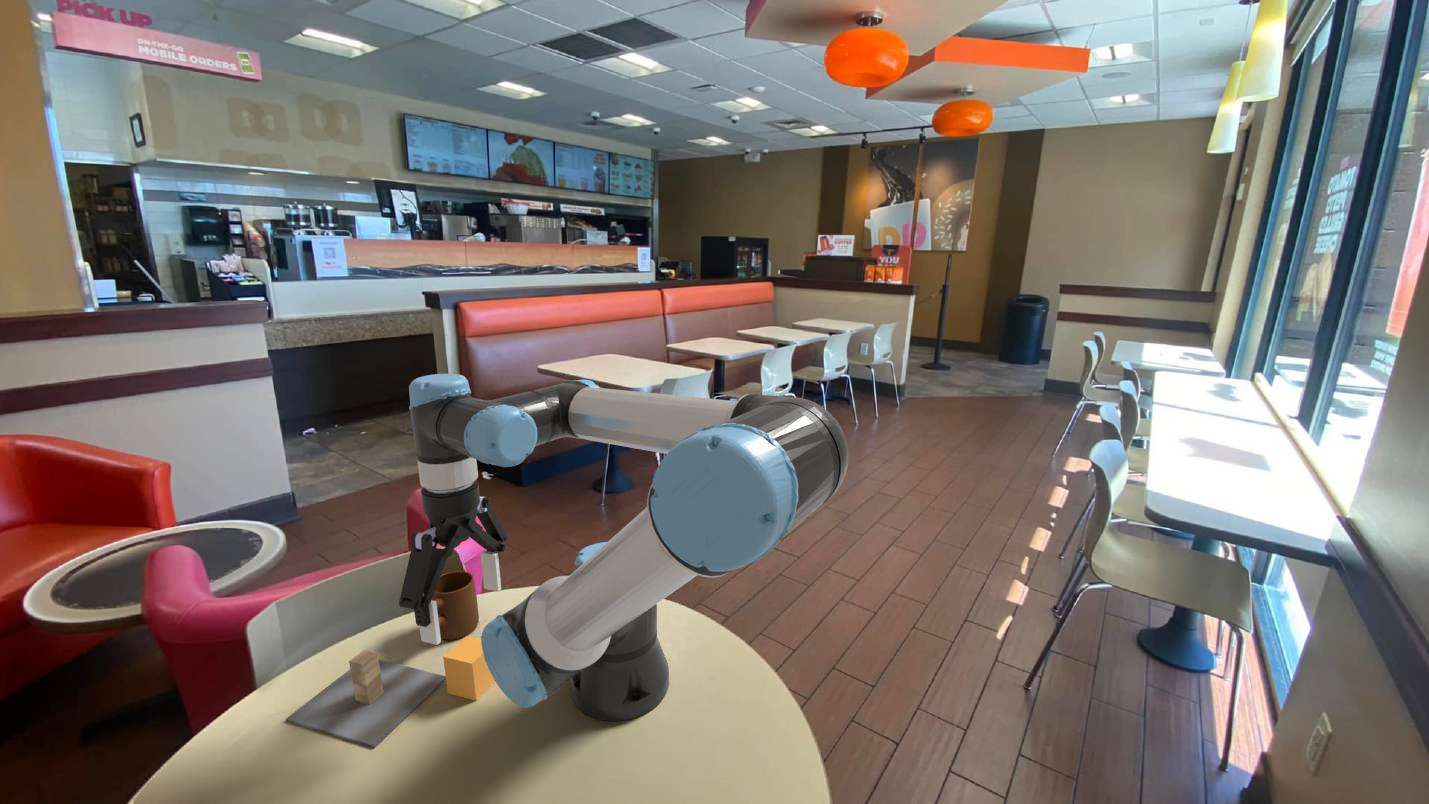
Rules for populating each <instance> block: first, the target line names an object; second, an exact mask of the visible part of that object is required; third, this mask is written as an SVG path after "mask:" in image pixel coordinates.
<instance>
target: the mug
mask: <svg viewBox="0 0 1429 804" xmlns="http://www.w3.org/2000/svg"><path fill="white" fill-rule="evenodd" d="M432 600H433V601H436V604H437V612H438V620H439V628H440V636H441V640H448V641H449V640H451V641H452V640H458V639H463V638H465V637H466V636H469V635H470V634H471V633H473V632H474V631H475V630H476V629H477V627H478V625H479V622H480V621H479V620H480V616H479V615H480V614H479V606H478V605H479V604H478V595H477V588H476V581H475V577H474V575H473V574H472V573H471V572H468V571H464V570H455V571H449V572H445V573H441V576H440V579H439V581H438V584H437V587H436V589H435V592H434V595H433V597H432Z"/></svg>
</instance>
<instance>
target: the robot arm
mask: <svg viewBox="0 0 1429 804" xmlns="http://www.w3.org/2000/svg"><path fill="white" fill-rule="evenodd" d="M408 392H409V393H408V394H409V403H410V405H409V406H408V409H409V411H410V418H411V423H412V424H411V425H412V430H413V431H412V433H413V440H414V446H415V452H416V453H415V454H416V460H417V469H418V477H419V484H420V486H421V487H422V488H421V490H420V493H421V494H420V496H421V503H422V510H423V513H424V514H425V516H426V517H427V518H428V520H429V523H428V528H427V529H426V530H425V531H423V532H419V531H414V532H412V533H411V535H410V553H409V558H408V562H407V567H406V571H405V575H404V580H403V584H402V589H401V594H400V597H399V601H398V605H399V607H401V608H405V609H410V610H413V611H414V612H413V613H414V618H415V624H416V625H417V626H419V633H420V640H421V642H423V643H428V644H431V645H436V646H438V645H439V644H440V643H441V642H442V639H441V636H440V628H439V620H438V612H437V604H436V601H433V600H432V597H433V595H434V592H435V589H436V587H437V584H438V581H439V579H440V576H441V575H442V574H443V573H442V572H443V571H444V569H445V565H446V564H447V563H446V562H447V560H448V558H450V557H451V556H452V555H453V552H454V550H455V549H456V548H457V547H459V545H461V543H462V542H465V541H467V540H468V539H471V540H473V541H474V542H475V543H476V544H478V545H479V546H480V547H482V549H484V550H483V551H481V552H480V559H481V560H480V561H481V569H482V571H481V572H482V580H483V581H482V582H483V589H484V590H489V591H492V592H493V591H494V592H497V593H499V592H500V591H501V590H502V582H501V581H502V579H501V572H500V571H501V570H500V567H501V557H500V556H501V555H500V553H504V552H505V550H506V544H503V543H506V542H508V539H509V536H508V534H507V532H506V531H505V529H504V527H503V525H502V523H501V522H500V520H499V518H498V517H497V514H496V513H495V511H494V510H493V505H492V501H491V498H490V497H486V496H480V483H479V481H478V480H477V479H478V477H479V471H478V463H477V462H478V461H479V462H480V463H484V464H486V465H489V464H491V465H492V466H498V467H502V468H508V467H509V468H510V467H515V466H517V465H520V464H522V463H523V462H524V461H525V459H526V458H527V457H528V456H530V455H531V454H532V453H533V451H534V450H535V447H537V446H541V445H543V444H546V443H548V442H553V441H554V440H558V439H562V438H573V439H577V440H578V439H579V440H585V441H586V440H587V441H593V442H598V443H603V444H609V445H615V446H620V447H627V448H631V449H637V450H644V451H650V452H655V453H659V454H665V456H663V458H662V459H661V461H660V462H659V464H658V467H657V468H656V470H655V472H654V475H653V478H652V483H651V485H650V488H649V491H648V494H647V499H646V507H645V508H644V509H643V510H642V511H641V512H639V514H637V515H635V517H634V518H633V519H632V520H631V521H629V522H628V523H627V524H626V525H625V526H624V527H623V528H622V529H620V530H619V531H618V532H617V533H616V534H615V535H614V536H613V537H611V538H610V539H609V540H608V541H605V542H604V541H603V542H596V543H594V544H590V545H588V546H585V547H583V548H582V549H580V550H579V551H578V553H577V555H576V557H575V562H574V567H575V570H574V571H573V572H572V573H571V574H570V575H559V576H556V577H553V578H549V579H548V580H546V581H544V582H543V583H541V585H539V586H538V587H537V588H536V589H535V590H534V591H533V592H532V593H530V594H529V595H528V596H527V597H526V598H525V599H524V600H523V601H521V602H520V603H519V604H517V605H516V606H514V607H513V608H512V609H509V610H507V611H506V612H505V613H503V614H497V615H496V617H495V618H494V619H493V620H491V621H490V622H488V623H487V624H486V625H485V626H484V628H483V629H482V632H481V638H480V639H481V644H482V650H483V654H484V658H485V661H486V663H487V666H488V668H489V670H490V672H491V674H492V676H493V678H494V680H495V681H494V682H495V683H496V684H497V686H498V687H499V689H500V691H501V692H502V693H503V694H504V695H505V696H506V697H507V698H508V699H509V701H511V702H512V703H514V704H515V705H517V706H519V707H521V708H524V709H525V708H526V709H527V708H532V707H534V706H536V705H537V704H539V703H540V702H541V701H546V700H547V699H548V697H549V696H550V695H551V694H552V693H554V692H555V691H556V690H558V689H559V688H561V687H562V686H563V685H564V684H566V683H567V682H568V681H571V683H570V684H571V698H572V699H573V702H574V703H575V706H577V708H578V709H579V710H580V711H581V712H582V713H584V714H585V715H587V716H590V717H591V718H594V719H598V720H601V721H609V722H618V721H627V720H631V719H635V718H638V717H640V716H643V715H645V714H646V713H648V712H650V711H651V710H652V709H654V708H656V707H657V706H658V705H659V704H660V703H661V702H662V701H663V699H664V698H665V696H666V694H667V693H668V690H669V685H670V668H669V667H670V666H669V663H668V661H667V658H666V656H665V653H664V650H663V648H662V646H661V643H660V640H659V638H658V610H657V609H658V604H659V603H660V602H661V601H664V599H665V598H668V596H670V595H671V594H673V593H674V592H675V591H677V590H678V589H680V588H681V587H683V586H684V585H686V584H687V583H688V582H690V581H691V580H693V579H695V578H696V577H697V576H698V577H699V576H700V577H704V578H720V577H723V576H725V575H727V574H729V573H731V572H732V571H735V570H737V569H740V568H742V567H745V566H747V565H751V564H753V563H755V562H757V561H759V560H760V559H762V558H763V557H765V556H766V555H768V553H770V552H771V551H773V550H774V548H775V547H776V546H778V544H780V542H781V540H783V538H784V537H785V536H787V535H788V534H789V533H791V531H793V530H794V529H795V528H796V527H797V526H799V524H801V523H802V522H803V521H805V519H806V518H808V517H809V516H810V515H811V514H813V513H814V512H815V511H816V510H818V509H819V508H820V507H821V506H822V505H824V504H825V503H826V502H828V501H829V500H831V498H832V497H833V496H834V495H835V494H836V493H837V491H838V490H839V488H840V487H841V485H842V484H843V481H844V479H845V478H846V474H847V472H848V464H849V447H848V443H847V438H846V435H845V432H844V431H843V429H842V427H841V425H840V423H839V422H838V420H837V419H836V418H835V417H834V416H833V415H832V414H831V412H829V410H828V409H826V408H824V407H823V406H821V405H820V404H818V403H816V401H815V402H814V401H812V400H809V399H806V398H803V397H798V396H797V397H795V396H787V395H771V394H769V395H768V394H766V395H765V394H757V393H747V394H744V395H742V396H741V397H739V398H738V399H737V400H728V399H727V400H726V399H716V398H707V397H695V396H687V395H676V394H666V393H665V394H664V393H655V392H644V391H634V390H624V389H614V388H606V387H605V388H604V387H600V386H599V385H598V384H596V383H595V382H594V381H593V380H589V379H578V380H577V379H576V380H566V381H564V382H561V383H557V384H554V385H551V386H546V387H541V388H538V389H534V390H530V391H526V392H521V393H516V394H512V395H508V396H504V397H500V398H495V399H491V400H489V399H488V400H487V399H481V398H477V397H474V396H471V394H472V391H471V388H470V385H469V380H468V379H467V378H466V377H465V376H464V375H462V374H458V373H436V374H429V375H423V376H419V377H417V378H414V379H413V380H412V381H411V382H410V384H409V385H408ZM477 519H478V521H479V522H480V524H479V523H478V522H477ZM438 545H439V546H440V547H443V548H438V547H437V546H438Z"/></svg>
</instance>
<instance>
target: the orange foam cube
mask: <svg viewBox="0 0 1429 804" xmlns="http://www.w3.org/2000/svg"><path fill="white" fill-rule="evenodd" d="M442 659H443V665H444V667H443V668H444V673H445V674H444V675H445V676H446V680H445V683H446V688H447V694H449V695H453V696H457V697H461V698H464V699H468V700H472V701H478V700H479V699H480V698H481V696H483V695H484V693H486V691H488V690H489V688H490V687H491V686H492V685H493V684H494V683H495V682H496V681H495V680H494V678H493V676H492V674H491V672H490V670H489V668H488V666H487V663H486V661H485V658H484V654H483V650H482V644H481V638H479V637H474V636H470V635H466V636H464V637H462V638H461V640H460V641H459V642H458V643H456V645H454V646H453V647H452V648H451V649H450V650H449V651H448V652H447V653H446V654H445V655H444V656H443V658H442Z"/></svg>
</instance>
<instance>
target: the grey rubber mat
mask: <svg viewBox="0 0 1429 804" xmlns="http://www.w3.org/2000/svg"><path fill="white" fill-rule="evenodd" d="M348 664H349V669H348V670H347V671H346V672H344V673H343V674H342V675H341V676H339V677H338V678H336V680H334V681H333V682H331V683H329V685H328V686H326V687H325V688H324V689H322V690H321V691H320V692H319V693H317V694H315V696H313V697H312V698H311V699H309V700H308V701H307V702H306V703H304V704H303V705H301V706H300V707H299V708H298V709H296V710H295V711H294V712H293V713H291V714H290V715H288V717H286V718H285V721H286V722H287V723H291V724H295V725H298V726H301V727H305V728H308V729H311V730H314V731H317V732H319V733H324V734H327V735H331V736H334V737H338V738H340V739H344V740H347V741H349V742H354V743H357V744H360V745H364V746H366V747H369V748H373V749H375V748H376V747H377V746H379V745H380V743H382V741H384V739H386V738H387V737H388V736H389V735H390V734H392V732H393V731H394V730H396V728H397V727H398V726H399V725H401V724H402V722H404V721H405V720H406V718H408V717H409V716H410V715H411V714H412V713H414V711H415V710H416V709H417V708H418V707H419V706H421V704H422V703H423V702H424V701H425V700H427V698H429V697H430V696H431V694H433V693H434V692H435V691H436V690H437V689H438V688H439V687H440V686H441V685H442V684H443V683H444V682H446V675H442V674H440V673H439V674H438V673H434V672H430V671H428V670H427V671H426V670H423V669H419V668H415V667H410V666H407V665H403V664H399V663H395V662H391V661H387V660H382V659H379V655H378V653H377V652H375V651H370V650H366V649H363V650H362V651H360V652H358V654H356V655H355V656H354V657H352V658H351V659H349V660H348Z"/></svg>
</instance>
